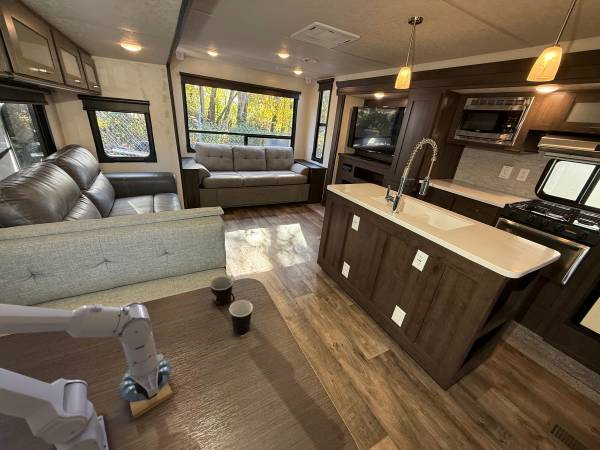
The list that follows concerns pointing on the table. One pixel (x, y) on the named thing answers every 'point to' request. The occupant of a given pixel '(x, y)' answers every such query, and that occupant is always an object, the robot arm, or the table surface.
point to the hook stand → (150, 401)
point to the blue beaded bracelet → (128, 383)
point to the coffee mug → (222, 290)
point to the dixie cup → (241, 316)
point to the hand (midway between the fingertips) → (150, 390)
